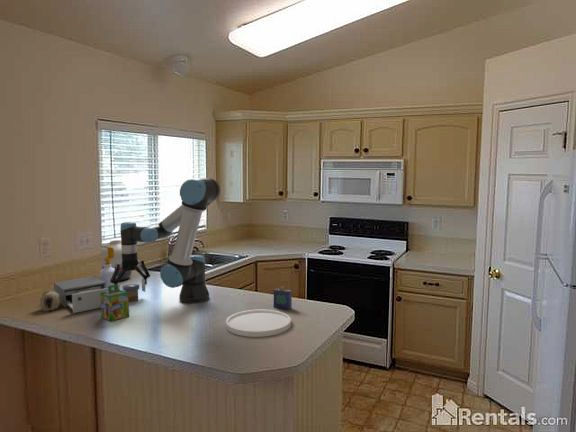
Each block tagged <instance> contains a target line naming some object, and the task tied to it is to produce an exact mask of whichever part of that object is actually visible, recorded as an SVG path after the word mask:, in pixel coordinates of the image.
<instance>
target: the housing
mask: <svg viewBox="0 0 576 432" xmlns="http://www.w3.org/2000/svg"><path fill="white" fill-rule="evenodd" d="M95 286H101V289H105V288H106V283H105V282H104V281H102V280H100V278H98V277H96V276H94V275H92V276H87V277H81V278H79V277H78V278H74V279H67V280H62V281H56V282H53V287H54V288H53V289H54V291H55V292H56V293H58V294H59V295H60V299H61V302H60V303H61V304H62V305H63V306H64V307H63V306H62V305H61V304H60V305H61V306H62V307H63V308H69V307H68V305H67V304H66V300H68V301H70V302H71V303H72V295H66V293H65V292H66V291H72V290H77V289H83V288H89V287H95Z"/></svg>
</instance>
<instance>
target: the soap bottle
mask: <svg viewBox="0 0 576 432" xmlns="http://www.w3.org/2000/svg"><path fill="white" fill-rule="evenodd" d="M104 248H107V249H108V257H106V258H101V260H102V259H103V260H105V261H106V263H105V268H103V269H102V268H101V270H100V271H99V279H100V280H102V281H104V282H105V283H106V288H108V286H111V285H114V283H111V282H110V280H111V278H112V275H113V273H114V270H115V269H114V268H112V267H111V263H109V261H110V259H113V258H114V249H113V248H111V247H106V246H103V249H104ZM116 278H117V277H116ZM113 290H115V289H114V287H113Z"/></svg>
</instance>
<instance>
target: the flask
mask: <svg viewBox="0 0 576 432" xmlns="http://www.w3.org/2000/svg"><path fill="white" fill-rule="evenodd" d="M284 288H285V286H280V288H278V287H277V288H274V289H273V308H274V309H278V310H291V309H293V308H292V307H293V306H292V305H293V304H292V302H293V301H292V295H293V292H292V290H291V289H284Z"/></svg>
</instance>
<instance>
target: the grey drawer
mask: <svg viewBox="0 0 576 432" xmlns="http://www.w3.org/2000/svg"><path fill="white" fill-rule="evenodd" d="M111 290H113V288H111ZM107 291H109V290H108V288H105V289H101V286H95V287H89V288H83V289H77V290H72V291H66V292H65V293H66V295H72V303H71V302H70V301H68V300H66V304H67V305H68V306H69V307H68V308H70V309H72V313H73V314H76V313H82V312H85V311H89V310H90V311H91V310H95V309H101V296H100V293H103V292H107Z"/></svg>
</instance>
